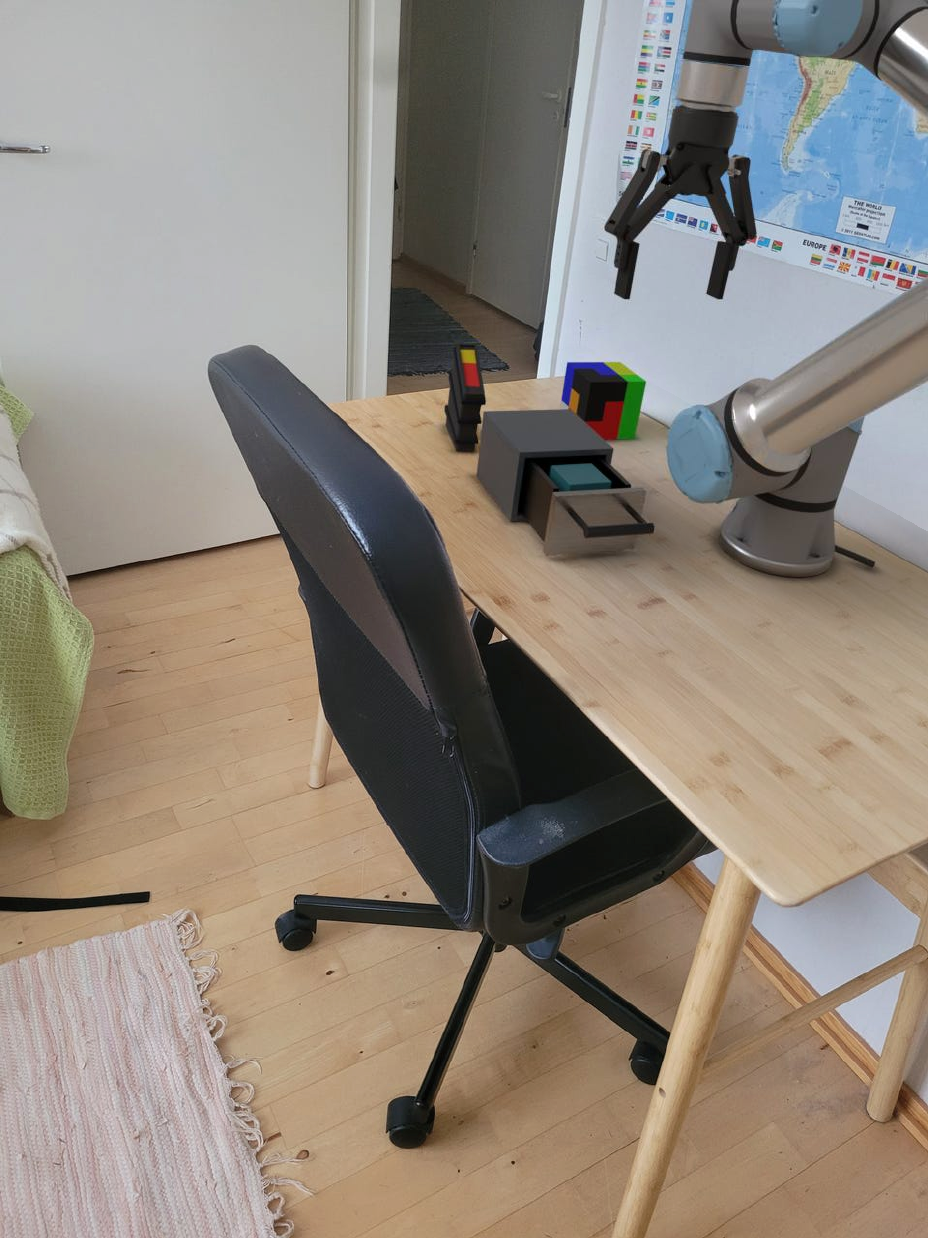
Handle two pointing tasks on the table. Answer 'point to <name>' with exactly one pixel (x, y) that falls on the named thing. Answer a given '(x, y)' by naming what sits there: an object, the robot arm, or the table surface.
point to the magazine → (465, 398)
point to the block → (578, 477)
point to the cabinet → (529, 448)
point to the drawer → (581, 509)
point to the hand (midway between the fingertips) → (668, 296)
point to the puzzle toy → (604, 397)
